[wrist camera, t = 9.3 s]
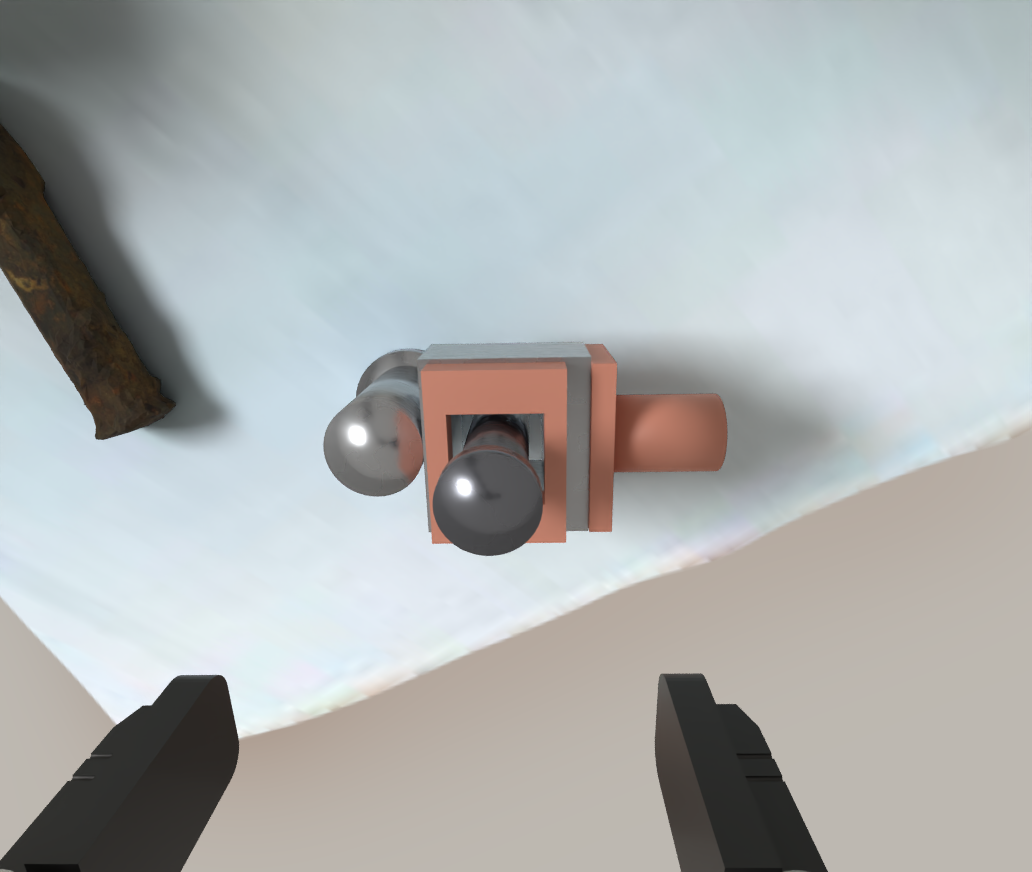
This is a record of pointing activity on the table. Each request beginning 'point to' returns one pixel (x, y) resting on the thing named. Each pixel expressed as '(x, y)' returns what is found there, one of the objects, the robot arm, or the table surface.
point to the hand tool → (70, 304)
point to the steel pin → (490, 488)
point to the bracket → (543, 389)
